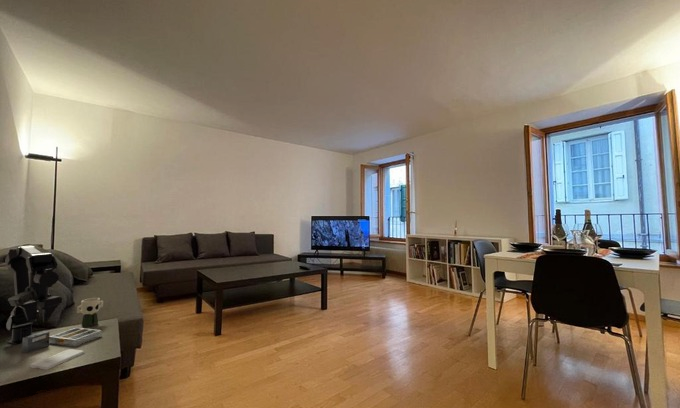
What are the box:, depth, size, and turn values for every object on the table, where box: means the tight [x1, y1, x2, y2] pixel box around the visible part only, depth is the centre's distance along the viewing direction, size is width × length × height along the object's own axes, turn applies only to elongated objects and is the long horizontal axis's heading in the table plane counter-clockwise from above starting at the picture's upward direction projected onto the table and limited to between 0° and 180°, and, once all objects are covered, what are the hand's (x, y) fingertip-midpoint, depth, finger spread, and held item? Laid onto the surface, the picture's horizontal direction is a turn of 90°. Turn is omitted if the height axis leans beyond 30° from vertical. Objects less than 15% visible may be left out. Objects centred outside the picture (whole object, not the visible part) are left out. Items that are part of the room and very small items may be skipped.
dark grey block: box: [21, 330, 50, 354], centre depth 116 cm, size 3×7×6 cm, turn 167°
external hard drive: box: [28, 348, 85, 370], centre depth 107 cm, size 2×8×12 cm
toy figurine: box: [76, 297, 104, 328], centre depth 141 cm, size 11×7×13 cm, turn 156°
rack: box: [49, 327, 102, 348], centre depth 124 cm, size 15×11×3 cm
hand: (37, 320), depth 116 cm, fingers open, 9 cm apart
